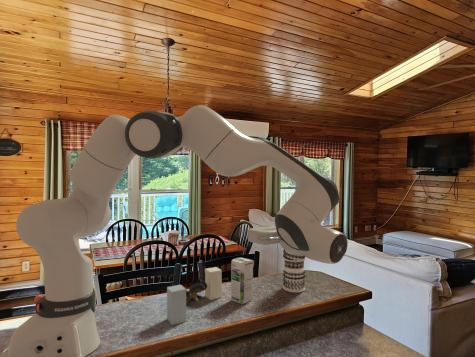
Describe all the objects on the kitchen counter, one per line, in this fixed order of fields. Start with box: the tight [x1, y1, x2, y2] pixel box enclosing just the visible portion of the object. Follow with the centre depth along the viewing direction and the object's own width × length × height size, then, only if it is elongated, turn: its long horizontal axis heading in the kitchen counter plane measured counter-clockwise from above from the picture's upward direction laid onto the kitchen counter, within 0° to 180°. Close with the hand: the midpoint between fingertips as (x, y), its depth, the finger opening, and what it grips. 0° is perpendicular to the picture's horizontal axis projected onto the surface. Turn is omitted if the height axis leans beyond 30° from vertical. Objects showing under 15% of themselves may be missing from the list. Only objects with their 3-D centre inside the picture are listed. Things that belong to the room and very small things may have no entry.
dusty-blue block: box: [166, 284, 187, 326], centre depth 99 cm, size 4×4×10 cm
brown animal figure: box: [186, 281, 207, 306], centre depth 113 cm, size 8×7×9 cm
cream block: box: [204, 266, 223, 301], centre depth 117 cm, size 4×4×10 cm
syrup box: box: [230, 257, 254, 305], centre depth 114 cm, size 6×6×14 cm
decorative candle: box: [282, 249, 306, 293], centre depth 125 cm, size 9×9×25 cm
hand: (266, 228), depth 100 cm, fingers closed
